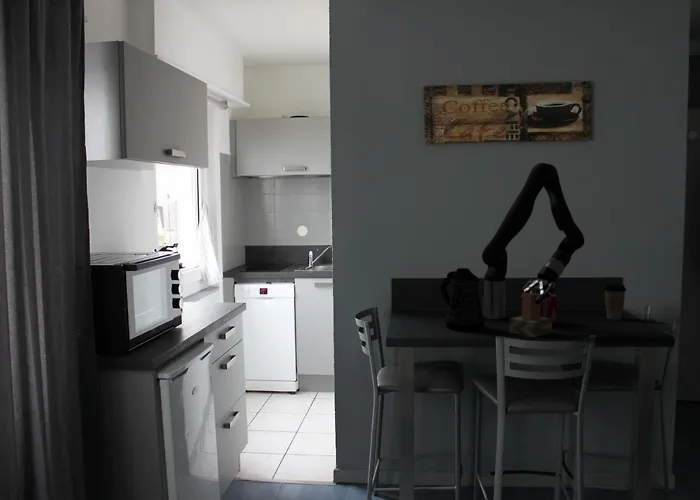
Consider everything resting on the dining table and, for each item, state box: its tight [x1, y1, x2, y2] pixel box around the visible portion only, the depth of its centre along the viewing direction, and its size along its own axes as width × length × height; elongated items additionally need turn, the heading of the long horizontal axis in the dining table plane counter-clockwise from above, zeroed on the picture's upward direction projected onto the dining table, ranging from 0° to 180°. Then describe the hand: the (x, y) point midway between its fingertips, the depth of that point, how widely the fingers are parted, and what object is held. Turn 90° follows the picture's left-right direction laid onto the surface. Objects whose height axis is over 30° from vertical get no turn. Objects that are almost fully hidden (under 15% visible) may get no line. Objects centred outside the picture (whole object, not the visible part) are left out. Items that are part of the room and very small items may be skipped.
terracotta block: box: [521, 292, 541, 320], centre depth 252 cm, size 5×5×10 cm
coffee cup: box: [603, 283, 627, 321], centre depth 280 cm, size 9×9×15 cm
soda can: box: [540, 293, 559, 324], centre depth 273 cm, size 7×7×12 cm
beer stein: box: [439, 267, 486, 332], centre depth 264 cm, size 16×19×25 cm
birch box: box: [508, 315, 553, 338], centre depth 253 cm, size 12×12×6 cm
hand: (529, 301), depth 252 cm, fingers open, 8 cm apart
